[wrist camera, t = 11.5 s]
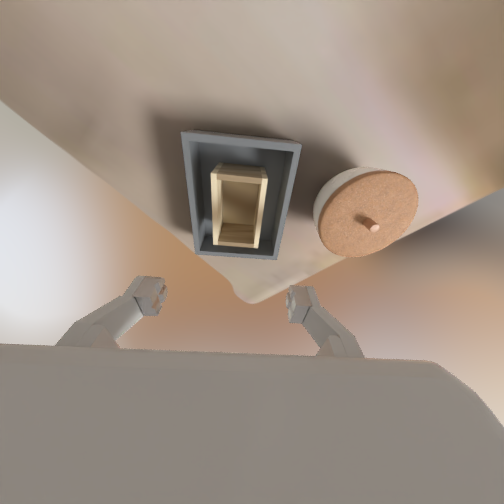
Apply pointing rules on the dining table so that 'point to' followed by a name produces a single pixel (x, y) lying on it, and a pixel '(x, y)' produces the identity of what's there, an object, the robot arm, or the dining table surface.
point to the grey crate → (244, 153)
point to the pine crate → (237, 204)
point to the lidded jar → (364, 210)
